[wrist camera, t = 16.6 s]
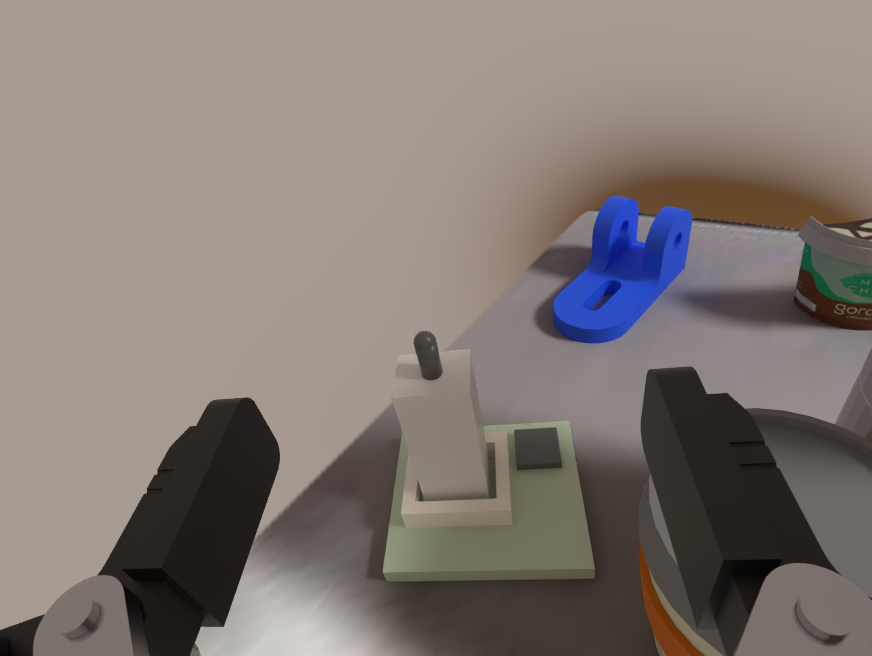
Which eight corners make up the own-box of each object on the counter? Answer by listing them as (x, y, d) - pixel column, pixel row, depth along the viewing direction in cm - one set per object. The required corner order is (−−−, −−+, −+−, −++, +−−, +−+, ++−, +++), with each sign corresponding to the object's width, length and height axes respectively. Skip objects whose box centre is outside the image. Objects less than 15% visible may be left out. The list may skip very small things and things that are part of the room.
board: (569, 431, 46) (568, 405, 44) (594, 578, 36) (595, 554, 34) (405, 440, 48) (397, 416, 46) (387, 581, 39) (376, 559, 36)
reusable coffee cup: (601, 553, 38) (610, 419, 28) (782, 536, 36) (855, 390, 27) (661, 780, 28) (707, 690, 18) (912, 767, 27) (1097, 663, 17)
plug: (489, 455, 44) (463, 302, 34) (490, 506, 40) (462, 352, 30) (431, 458, 45) (389, 309, 34) (427, 509, 41) (378, 359, 31)
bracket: (619, 250, 67) (623, 186, 61) (684, 268, 62) (695, 199, 56) (539, 327, 58) (535, 259, 52) (607, 354, 53) (611, 283, 47)
